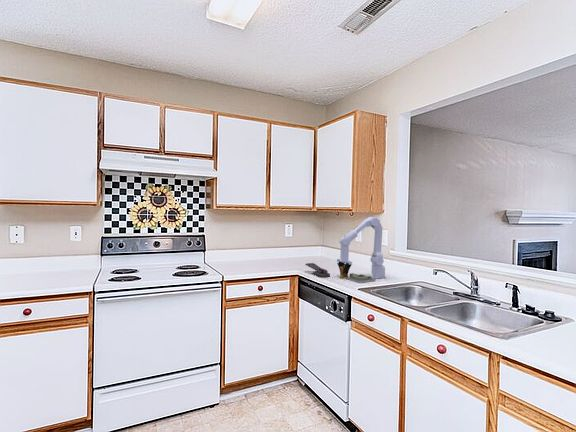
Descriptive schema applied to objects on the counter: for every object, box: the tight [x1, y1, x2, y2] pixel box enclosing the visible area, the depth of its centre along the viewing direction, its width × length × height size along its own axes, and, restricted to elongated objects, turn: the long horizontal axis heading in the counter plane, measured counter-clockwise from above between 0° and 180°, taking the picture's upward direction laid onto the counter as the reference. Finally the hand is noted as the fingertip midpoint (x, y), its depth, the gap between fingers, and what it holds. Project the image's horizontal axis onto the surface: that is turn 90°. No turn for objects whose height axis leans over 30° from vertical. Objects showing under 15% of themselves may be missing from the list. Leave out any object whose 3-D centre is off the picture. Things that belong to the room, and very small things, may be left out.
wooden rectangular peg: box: [339, 266, 349, 279], centre depth 237 cm, size 4×3×8 cm, turn 120°
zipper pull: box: [305, 262, 331, 279], centre depth 247 cm, size 9×7×25 cm
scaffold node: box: [345, 272, 377, 284], centre depth 231 cm, size 14×17×4 cm
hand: (344, 273), depth 237 cm, fingers open, 5 cm apart
